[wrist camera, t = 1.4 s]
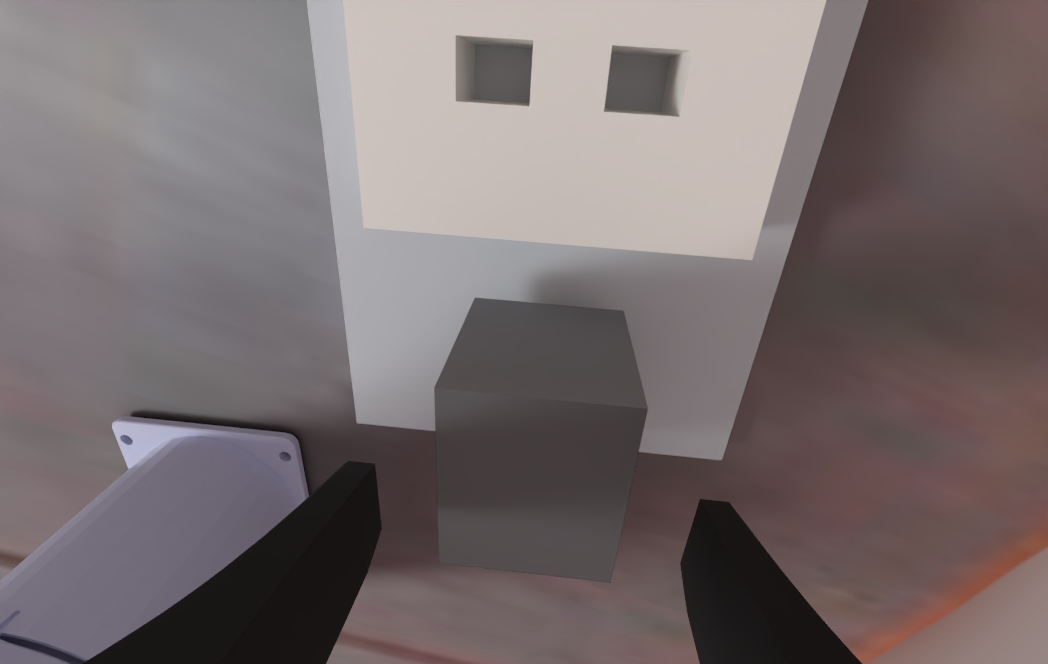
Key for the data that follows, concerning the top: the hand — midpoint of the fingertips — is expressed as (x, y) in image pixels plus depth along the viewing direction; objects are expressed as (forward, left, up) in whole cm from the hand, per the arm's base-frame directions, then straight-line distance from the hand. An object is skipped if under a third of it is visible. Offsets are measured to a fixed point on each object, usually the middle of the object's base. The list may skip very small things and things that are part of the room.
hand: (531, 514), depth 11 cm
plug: (0, 0, -7) cm, 7 cm away
